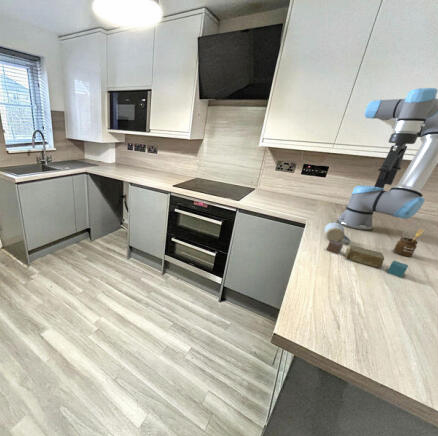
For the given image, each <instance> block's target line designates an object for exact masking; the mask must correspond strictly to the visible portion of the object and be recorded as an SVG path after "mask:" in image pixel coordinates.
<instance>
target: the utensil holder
mask: <svg viewBox="0 0 438 436" xmlns="http://www.w3.org/2000/svg"><path fill="white" fill-rule="evenodd" d="M424 231H425V230H424V229H421V228H420V229H419V230H418V231H417V232H416V233H415V236H414V238H412V237H408V235H406V236H405V234H406V232H403V234H402V235H403V236H402V237H400V238H399V240H398V241H397V242H396V244H395V246H394V248H393V252H394V253H395V254H397V255H399V256H403V257H412V256H413V255H414V253H415V251H416V249H417V245H418V240H416V239H417V238H419V237H421V235H422V234H423V232H424ZM409 234H410V235H412V232H411V231H409Z"/></svg>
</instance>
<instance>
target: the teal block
mask: <svg viewBox="0 0 438 436" xmlns="http://www.w3.org/2000/svg"><path fill="white" fill-rule="evenodd" d="M409 266H410V265H409V264H406V263H403V262H399V261H397V260H393V261H392V262H391V263H390V265H389V267H388V269H387V271H386V272H387V274H390V275H393V276H396V277H399V278H403V276H404V275H405V273H406V271H407V270H408V268H409Z"/></svg>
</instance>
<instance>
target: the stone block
mask: <svg viewBox="0 0 438 436" xmlns="http://www.w3.org/2000/svg"><path fill="white" fill-rule="evenodd" d="M345 258H346V260H349V261H353V262H355V263H356V262H357V263H358V264H359V263H360V264H362V265H366V266H370V267H372V268H378V269H380V268H381V267H382V266H383V264H384V261H385V255H384V254H383V253H382V252H380V251H377V250H372V249H368V248H364V247H360V246H356V245H352V244H349V245H348V246H347V248H346V251H345Z"/></svg>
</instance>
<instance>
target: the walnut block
mask: <svg viewBox="0 0 438 436" xmlns="http://www.w3.org/2000/svg"><path fill="white" fill-rule="evenodd" d="M343 246H344V242H340V241H334V240H332V241H330V240H329V242H328V245H327V248H326V251H327V252H331V253H333V254H339V253H341V252H342V249H343Z"/></svg>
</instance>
